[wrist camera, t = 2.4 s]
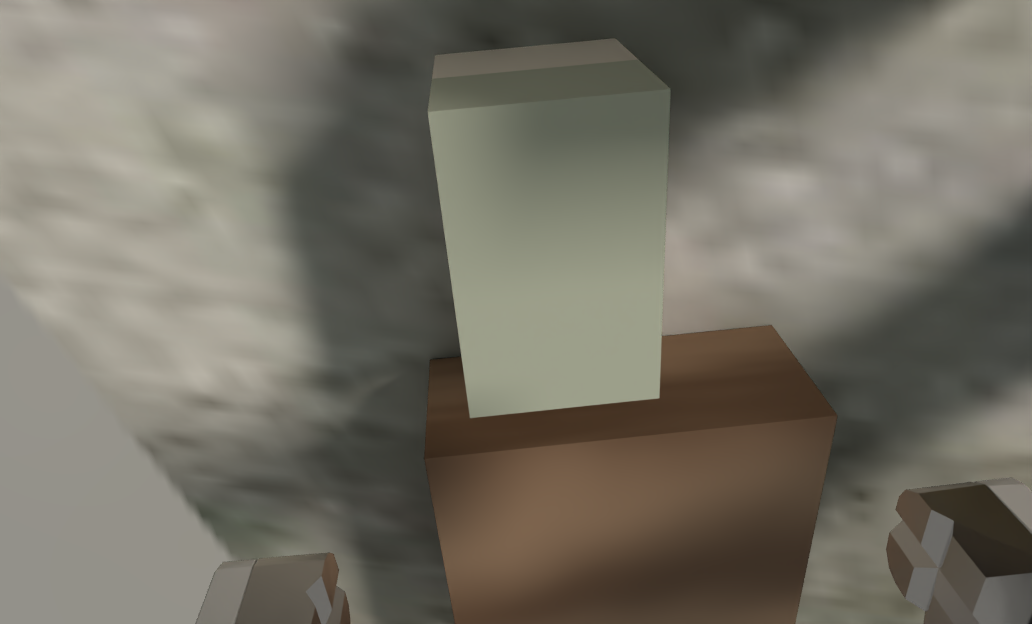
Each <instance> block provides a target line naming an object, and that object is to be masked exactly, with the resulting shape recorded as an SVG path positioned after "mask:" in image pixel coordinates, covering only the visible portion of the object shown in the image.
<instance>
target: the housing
mask: <svg viewBox="0 0 1032 624" xmlns="http://www.w3.org/2000/svg"><path fill="white" fill-rule="evenodd" d="M670 94H671V89H670V88H669V87H668V86H667V85H666V84H665V83H664V82H663V81H661V80H660V79H659V78H658V77H657V76H656V75H655V74H654V73H653V72H652V71H650V70H649V69H648V68H647V67H646V66H645V65H644V64H643V63H642V62H641V61H640V60H638V59H637V58H636V57H635V56H634V55H633V54H632V53H631V52H630V51H629V50H628V49H626V48H625V47H624V46H623V45H622V44H621V43H620V42H619V41H618V40H617V39H616V38H613V39H603V40H592V41H581V42H570V43H559V44H548V45H538V46H527V47H516V48H505V49H494V50H484V51H473V52H462V53H451V54H440V55H435V59H434V67H433V74H432V82H431V90H430V97H429V105H428V119H429V126H430V133H431V140H432V148H433V155H434V162H435V169H436V176H437V184H438V191H439V198H440V205H441V212H442V220H443V227H444V234H445V241H446V248H447V256H448V263H449V270H450V277H451V284H452V292H453V299H454V306H455V313H456V321H457V328H458V335H459V342H460V349H461V357H462V364H463V371H464V378H465V385H466V393H467V400H468V407H469V414H470V418H476V417H486V416H495V415H505V414H514V413H524V412H533V411H543V410H552V409H562V408H571V407H581V406H590V405H600V404H609V403H619V402H628V401H638V400H647V399H657V398H659V395H660V368H661V341H662V313H663V286H664V258H665V231H666V204H667V176H668V149H669V122H670Z"/></svg>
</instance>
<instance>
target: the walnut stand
mask: <svg viewBox="0 0 1032 624" xmlns="http://www.w3.org/2000/svg"><path fill="white" fill-rule="evenodd" d="M836 421H837V414H836V413H835V411H834V410H833V409H832V407H831V406H830V405H829V403H828V402H827V400H826V399H825V398H824V396H823V395H822V394H821V392H820V391H819V389H818V388H817V387H816V385H815V384H814V383H813V381H812V380H811V378H810V377H809V376H808V374H807V373H806V372H805V370H804V369H803V367H802V366H801V365H800V363H799V362H798V360H797V359H796V358H795V356H794V355H793V354H792V352H791V351H790V349H789V348H788V347H787V345H786V344H785V343H784V341H783V340H782V338H781V337H780V336H779V334H778V333H777V332H776V330H775V329H774V327H773V326H772V325H769V326H759V327H749V328H739V329H729V330H719V331H710V332H700V333H690V334H680V335H670V336H662V341H661V368H660V395H659V398H657V399H647V400H638V401H628V402H619V403H609V404H600V405H590V406H581V407H571V408H562V409H552V410H543V411H533V412H524V413H514V414H505V415H495V416H486V417H476V418H470V414H469V407H468V400H467V393H466V385H465V378H464V371H463V364H462V357H453V358H443V359H433V360H430V370H429V387H428V404H427V421H426V439H425V456H424V460H425V465H426V471H427V476H428V481H429V487H430V492H431V497H432V503H433V508H434V513H435V519H436V524H437V530H438V535H439V540H440V546H441V551H442V556H443V562H444V567H445V572H446V578H447V583H448V588H449V594H450V599H451V604H452V610H453V615H454V621H455V624H795V622H796V617H797V612H798V607H799V602H800V597H801V592H802V588H803V583H804V578H805V573H806V568H807V563H808V558H809V553H810V548H811V544H812V539H813V534H814V529H815V524H816V519H817V514H818V509H819V504H820V499H821V495H822V490H823V485H824V480H825V475H826V470H827V465H828V460H829V455H830V451H831V446H832V441H833V436H834V431H835V426H836Z"/></svg>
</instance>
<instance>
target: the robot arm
mask: <svg viewBox="0 0 1032 624" xmlns="http://www.w3.org/2000/svg"><path fill="white" fill-rule="evenodd" d="M896 511H897V512H898V514H899V515H900V516H901V518H902V519H903V520H902V521H901V522H900V523H899V524H898V525H897V526H896V527H895V528H893V529H892V530H891V531H890V533H889V538H888V543H887V548H886V551H887V557H888V563H889V569H890V571H891V574H892V576H893V578H894V581H895V583H896V585H897V586H898V588H899V590H900V591H901V593H902V594H903V596H904V597H905V599H907V600H908V601H910V602H911V603H913V604H915V605H916V606H918V607H919V608H921V609H922V610H924V611H925V616H924V624H1032V491H1031V490H1030V489H1029V488H1028V487H1027V486H1026V485H1025V484H1024V483H1022V482H1021V481H1019V480H1017V479H1014V478H1012V477H1010V478H1001V479H992V480H983V481H976V482H964V483H956V484H947V485H939V486H931V487H922V488H914V489H906V490H905V491H904V492H903V493H902V494H901V495H900V496H899V499H898V502H897V506H896ZM338 572H339V569H338V566H337V563H336V560H335V557H334V554H332V553H318V554H305V555H293V556H281V557H269V558H259V559H252V560H240V561H228V562H223V563H222V564H221V565H220V566H219V568H218V569H217V570H216V571H215V573H214V575H213V578H212V581H211V583H210V586H209V589H208V591H207V594H206V597H205V600H204V602H203V605H202V607H201V610H200V613H199V615H198V618H197V621H196V624H350V613H349V605H348V601H347V597H346V593H345V591H343V590H342V589H341V588H339V587H338V586H336V584H337V578H338Z"/></svg>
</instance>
